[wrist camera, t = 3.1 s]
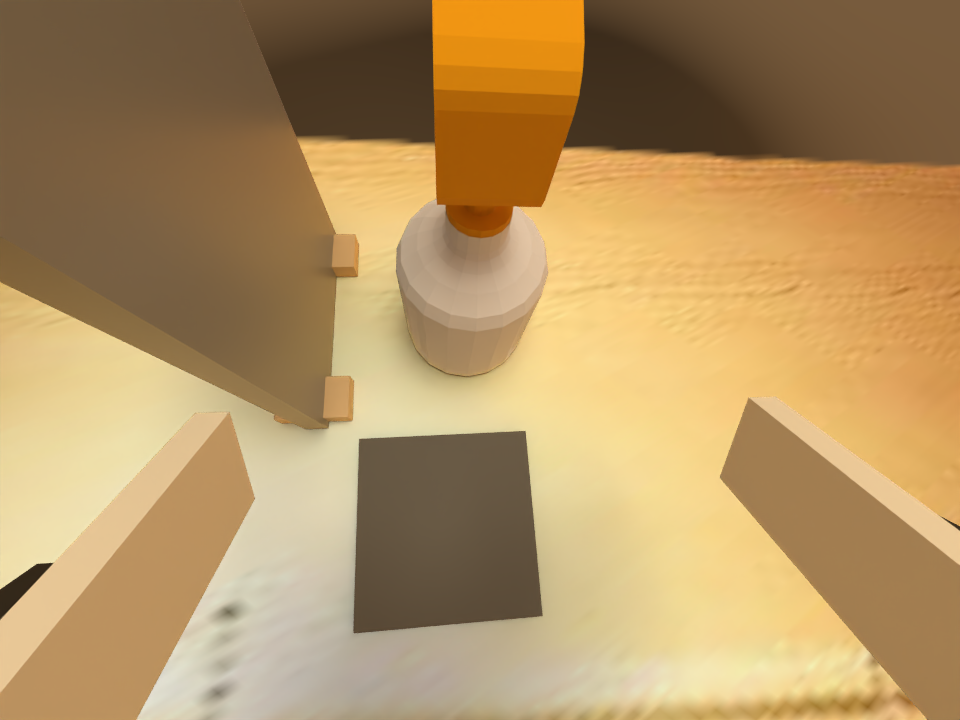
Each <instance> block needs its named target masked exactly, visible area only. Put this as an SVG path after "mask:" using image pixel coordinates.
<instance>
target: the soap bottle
mask: <svg viewBox="0 0 960 720" xmlns="http://www.w3.org/2000/svg"><path fill="white" fill-rule="evenodd" d="M583 2H584V0H432V3H433V66H434V67H433V69H434V114H435V156H436V195H437V199H435V200H433V201H431V202H429V203H427V204H426V205H425V206H424V207H423V208H421V209H420V210H419V211H418V212H417V213H416V214H415V215H414V216H413V217H412V218H411V219H410V221H409V223H408V225H407V227H406V229H405V231H404V233H403V235H402V238H401V240H400V242H399V244H398V247H397V257H396V274H397V278H398V283H399V288H400V292H401V297H402V302H403V306H404V311H405V316H406V320H407V325H408V330H409V333H410V336H411V338H412V341H413V343H414V346H415V349H416V350H417V351H418V352H419V353H420V354H421V356H422V357H423V358H424V359H425V360H426V361H427V362H428V363H429V364H430V365H432V366H434V367H436V368H438V369H440V370H442V371H444V372H445V373H449V374H455V375H462V376H472V375H477V374H482V373H487V372H489V371H491V370H492V369H494V368H496V367H497V366H499V365H501V364H503V363H504V362H505V361H506V360H507V358H508V357H509V356H510V355H511V353H512V352H513V351H514V350H515V348H516V346H517V344H518V342H519V340H520V338H521V336H522V334H523V332H524V330H525V328H526V326H527V324H528V322H529V320H530V318H531V316H532V313H533V311H534V309H535V307H536V305H537V303H538V301H539V299H540V297H541V295H542V291H543V288H544V285H545V281H546V278H547V275H548V267H547V257H546V249H545V245H544V241H543V239H542V237H541V235H540V233H539V231H538V229H537V227H536V225H535V223H534V221H533V220H531V219H530V218H529V217H528V216H527V215H526V214H525V213H524V212H523V211H522V210H521V209H520V208H519V207H541V206H542V204H543V203H544V201H545V198H546V195H547V192H548V189H549V186H550V184H551V181H552V178H553V175H554V172H555V169H556V166H557V163H558V160H559V157H560V154H561V151H562V148H563V145H564V142H565V140H566V136H567V133H568V131H569V128H570V125H571V122H572V119H573V116H574V112H575V108H576V105H577V101H578V97H579V91H580V85H581V79H582V72H583V56H584V3H583ZM518 206H519V207H518Z"/></svg>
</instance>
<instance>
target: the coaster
mask: <svg viewBox="0 0 960 720" xmlns="http://www.w3.org/2000/svg"><path fill="white" fill-rule="evenodd" d="M537 616H542V606H541V595H540V584H539V573H538V562H537V551H536V541H535V530H534V519H533V508H532V497H531V486H530V475H529V465H528V454H527V443H526V432H525V431H518V432H497V433H476V434H455V435H434V436H413V437H392V438H371V439H359V471H358V504H357V537H356V571H355V604H354V633H362V632H373V631H384V630H395V629H406V628H417V627H428V626H439V625H449V624H460V623H471V622H482V621H493V620H504V619H515V618H526V617H537Z"/></svg>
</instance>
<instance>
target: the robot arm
mask: <svg viewBox="0 0 960 720" xmlns="http://www.w3.org/2000/svg"><path fill="white" fill-rule="evenodd" d="M720 479H721V480H722V481H723V482H724V483H725V484H726V486H727V487H728V488H729V489H730V490H731V491H732V493H733V494H734V495H735V496H736V497H737V498H738V500H739V501H740V502H741V503H742V504H743V505H744V507H745V508H746V509H747V510H748V511H749V512H750V513H751V515H752V516H753V517H754V518H755V519H756V520H757V522H758V523H759V524H760V525H761V526H762V527H763V529H764V530H765V531H766V532H767V533H768V534H769V536H770V537H771V538H772V539H773V540H774V541H775V543H776V544H777V545H778V546H779V547H780V548H781V550H782V551H783V552H784V553H785V554H786V555H787V557H788V558H789V559H790V560H791V561H792V562H793V564H794V565H795V566H796V567H797V568H798V569H799V571H800V572H801V573H802V574H803V575H804V576H805V578H806V579H807V580H808V581H809V582H810V583H811V585H812V586H813V587H814V588H815V589H816V590H817V592H818V593H819V594H820V595H821V596H822V597H823V599H824V600H825V601H826V602H827V603H828V604H829V606H830V607H831V608H832V609H833V610H834V611H835V613H836V614H837V615H838V616H839V617H840V618H841V619H842V621H843V622H844V623H845V624H846V625H847V626H848V628H849V629H850V630H851V631H852V632H853V633H854V635H855V636H856V637H857V638H858V639H859V640H860V642H861V643H862V644H863V645H864V646H865V647H866V649H867V650H868V651H869V652H870V653H871V654H872V656H873V657H874V658H875V659H876V660H877V661H878V663H879V664H880V665H881V666H882V667H883V668H884V670H885V671H886V672H887V673H888V674H889V675H890V677H891V678H892V679H893V680H894V681H895V682H896V684H897V685H898V686H899V687H900V688H901V689H902V691H903V692H904V693H905V694H906V695H907V696H908V698H909V699H910V700H911V701H912V702H913V703H914V705H915V706H916V707H917V708H918V709H919V710H920V712H921V713H922V714H923V715H924V716H925V717H926V719H927V720H960V526H958V525H956V524H954V523H952V522H950V521H948V520H947V519H945V518H943V517H941V516H939V515H937V514H936V513H935V512H933V511H932V510H931V509H929V508H928V507H926V506H925V505H924V504H922V503H921V502H920V501H918V500H917V499H915V498H914V497H913V496H911V495H910V494H909V493H907V492H906V491H904V490H903V489H902V488H900V487H899V486H898V485H896V484H895V483H893V482H892V481H891V480H889V479H888V478H887V477H885V476H884V475H882V474H881V473H880V472H878V471H877V470H876V469H874V468H873V467H871V466H870V465H869V464H867V463H866V462H865V461H863V460H862V459H861V458H859V457H858V456H856V455H855V454H854V453H852V452H851V451H850V450H848V449H847V448H845V447H844V446H843V445H841V444H840V443H839V442H837V441H836V440H834V439H833V438H832V437H830V436H829V435H828V434H826V433H825V432H823V431H822V430H821V429H819V428H818V427H817V426H815V425H814V424H812V423H811V422H810V421H808V420H807V419H806V418H804V417H803V416H801V415H800V414H799V413H797V412H796V411H795V410H793V409H792V408H791V407H789V406H788V405H786V404H785V403H784V402H782V401H781V400H780V399H778V398H777V397H749V398H748V401H747V404H746V406H745V409H744V412H743V415H742V417H741V420H740V423H739V426H738V428H737V431H736V434H735V437H734V439H733V442H732V445H731V448H730V450H729V453H728V456H727V459H726V461H725V464H724V467H723V470H722V472H721V475H720ZM254 499H255V497H254V494H253V490H252V487H251V484H250V480H249V477H248V473H247V470H246V467H245V463H244V460H243V456H242V453H241V450H240V446H239V443H238V440H237V436H236V433H235V429H234V426H233V423H232V419H231V416H230V412H210V413H195V414H194V415H193V416H192V417H191V418H190V419H189V420H188V421H187V422H186V423H185V424H184V426H183V427H182V428H181V429H180V430H179V431H178V432H177V433H176V434H175V435H174V436H173V437H172V438H171V439H170V440H169V441H168V442H167V444H166V445H165V446H164V447H163V448H162V449H161V450H160V451H159V452H158V453H157V454H156V455H155V456H154V457H153V458H152V459H151V461H150V462H149V463H148V464H147V465H146V466H145V467H144V468H143V469H142V470H141V471H140V472H139V473H138V474H137V475H136V476H135V478H134V479H133V480H132V481H131V482H130V483H129V484H128V485H127V486H126V487H125V488H124V489H123V490H122V491H121V492H120V493H119V494H118V496H117V497H116V498H115V499H114V500H113V501H112V502H111V503H110V504H109V505H108V506H107V507H106V508H105V509H104V510H103V511H102V513H101V514H100V515H99V516H98V517H97V518H96V519H95V520H94V521H93V522H92V523H91V524H90V525H89V526H88V527H87V528H86V529H85V531H84V532H83V533H82V534H81V535H80V536H79V537H78V538H77V539H76V540H75V541H74V542H73V543H72V544H71V545H70V546H69V548H68V549H67V550H66V551H65V552H64V553H63V554H62V555H61V556H60V557H59V558H58V559H57V560H56V561H55V562H54V563H45V564H36V565H35V566H33V567H32V568H30V569H29V570H28V571H26V572H25V573H23V574H22V575H20V576H19V577H18V578H16V579H15V580H13V581H12V582H10V583H9V584H8V585H6V586H5V587H3V588H2V589H0V720H136V719H137V717H138V715H139V713H140V711H141V710H142V708H143V706H144V704H145V702H146V700H147V698H148V697H149V695H150V693H151V691H152V689H153V687H154V685H155V683H156V682H157V680H158V678H159V676H160V674H161V672H162V670H163V669H164V667H165V665H166V663H167V661H168V659H169V657H170V656H171V654H172V652H173V650H174V648H175V646H176V644H177V643H178V641H179V639H180V637H181V635H182V633H183V631H184V630H185V628H186V626H187V624H188V622H189V620H190V618H191V616H192V615H193V613H194V611H195V609H196V607H197V605H198V603H199V602H200V600H201V598H202V596H203V594H204V592H205V590H206V589H207V587H208V585H209V583H210V581H211V579H212V577H213V576H214V574H215V572H216V570H217V568H218V566H219V564H220V563H221V561H222V559H223V557H224V555H225V553H226V551H227V549H228V548H229V546H230V544H231V542H232V540H233V538H234V536H235V535H236V533H237V531H238V529H239V527H240V525H241V523H242V522H243V520H244V518H245V516H246V514H247V512H248V510H249V509H250V507H251V505H252V503H253V501H254Z"/></svg>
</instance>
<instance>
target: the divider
mask: <svg viewBox="0 0 960 720" xmlns="http://www.w3.org/2000/svg"><path fill="white" fill-rule="evenodd" d="M358 252H359V244H358V241H357V238H356V235H355V234H336V233H335V230H334V228H333V225H332V223H331V221H330V218H329V216H328V213H327V211H326V208H325V206H324V204H323V201H322V199H321V196H320V194H319V191H318V189H317V187H316V184H315V182H314V179H313V177H312V175H311V172H310V170H309V167H308V165H307V162H306V160H305V158H304V155H303V153H302V150H301V148H300V145H299V143H298V141H297V138H296V136H295V133H294V131H293V129H292V126H291V124H290V121H289V119H288V116H287V114H286V112H285V109H284V107H283V104H282V102H281V99H280V97H279V94H278V92H277V90H276V87H275V85H274V82H273V80H272V77H271V75H270V73H269V70H268V68H267V65H266V63H265V61H264V58H263V56H262V53H261V51H260V48H259V46H258V44H257V41H256V39H255V36H254V34H253V31H252V29H251V27H250V24H249V22H248V19H247V17H246V14H245V12H244V10H243V7H242V5H241V2H240V0H0V282H1V283H3V284H5V285H8V286H10V287H12V288H14V289H16V290H18V291H20V292H22V293H24V294H26V295H28V296H30V297H32V298H34V299H37V300H39V301H41V302H43V303H45V304H47V305H49V306H51V307H53V308H55V309H57V310H59V311H61V312H64V313H66V314H68V315H70V316H72V317H74V318H76V319H78V320H80V321H82V322H84V323H86V324H88V325H91V326H93V327H95V328H97V329H99V330H101V331H103V332H105V333H107V334H109V335H111V336H113V337H115V338H117V339H120V340H122V341H124V342H126V343H128V344H130V345H132V346H134V347H136V348H138V349H140V350H142V351H144V352H147V353H149V354H151V355H153V356H155V357H157V358H159V359H161V360H163V361H165V362H167V363H169V364H171V365H173V366H176V367H178V368H180V369H182V370H184V371H186V372H188V373H190V374H192V375H194V376H196V377H198V378H200V379H203V380H205V381H207V382H209V383H211V384H213V385H215V386H217V387H219V388H221V389H223V390H225V391H227V392H229V393H232V394H234V395H236V396H238V397H240V398H242V399H244V400H246V401H248V402H250V403H252V404H254V405H256V406H259V407H261V408H263V409H265V410H267V411H269V412H271V413H273V414H275V416H274V420H275V421H278V422H280V423H294V424H296V425H298V426H300V427H302V428H304V429H324V428H328V427H329V421H351V420H353V392H354V381H353V380H352V378H351V377H350V376H331V371H332V352H333V333H334V315H335V296H336V277H340V276H358Z"/></svg>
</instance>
